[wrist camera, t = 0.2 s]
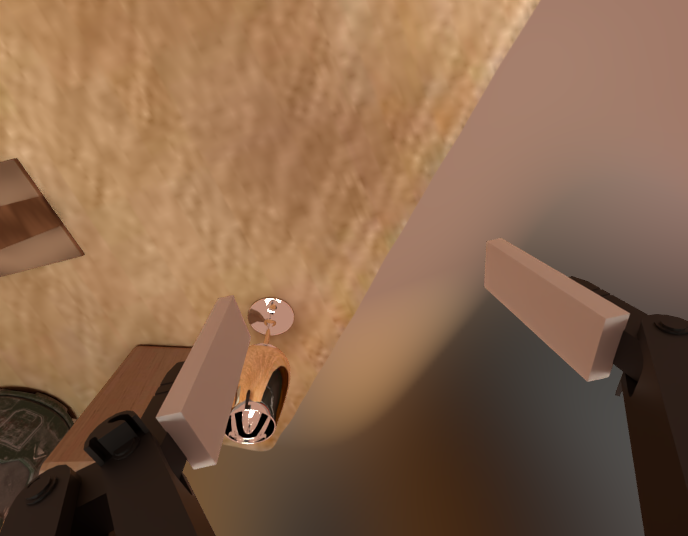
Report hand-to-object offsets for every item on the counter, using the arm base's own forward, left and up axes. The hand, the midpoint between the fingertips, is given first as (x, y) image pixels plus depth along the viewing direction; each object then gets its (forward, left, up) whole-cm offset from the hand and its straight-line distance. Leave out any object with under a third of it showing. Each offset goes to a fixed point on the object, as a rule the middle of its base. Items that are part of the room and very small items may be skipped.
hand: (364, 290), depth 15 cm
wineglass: (+18, -15, -28) cm, 37 cm away
